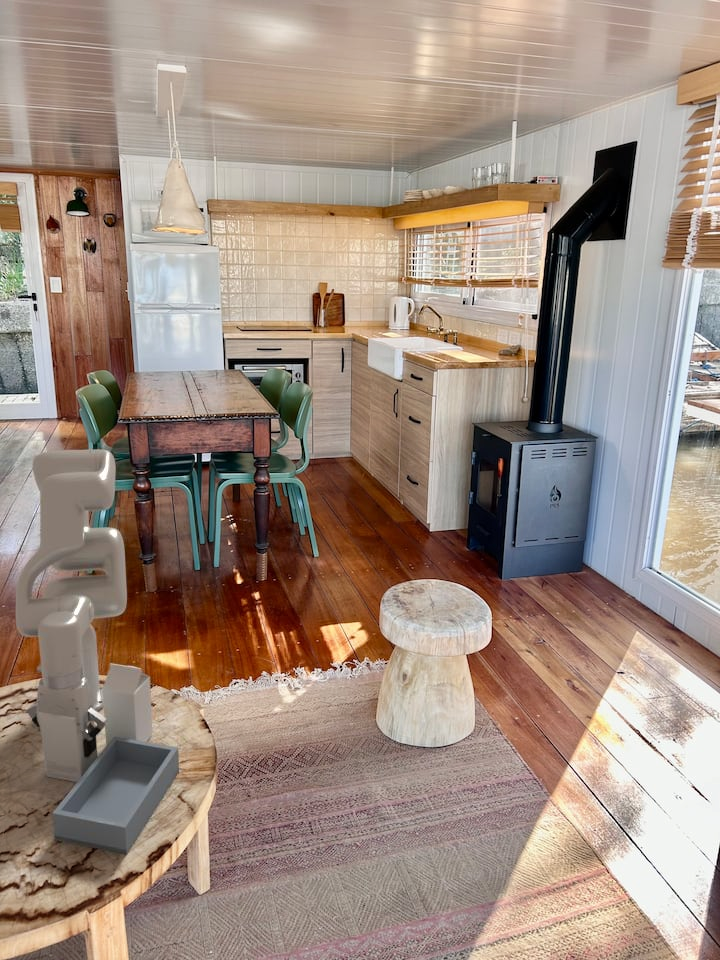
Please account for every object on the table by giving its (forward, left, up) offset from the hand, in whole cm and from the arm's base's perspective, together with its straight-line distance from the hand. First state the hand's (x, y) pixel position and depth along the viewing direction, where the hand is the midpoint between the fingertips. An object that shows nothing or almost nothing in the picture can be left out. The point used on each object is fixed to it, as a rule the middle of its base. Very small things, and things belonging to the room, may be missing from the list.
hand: (69, 748), depth 148 cm
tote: (+14, -6, -5) cm, 16 cm away
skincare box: (0, 0, -6) cm, 6 cm away
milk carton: (+7, +11, -6) cm, 14 cm away
